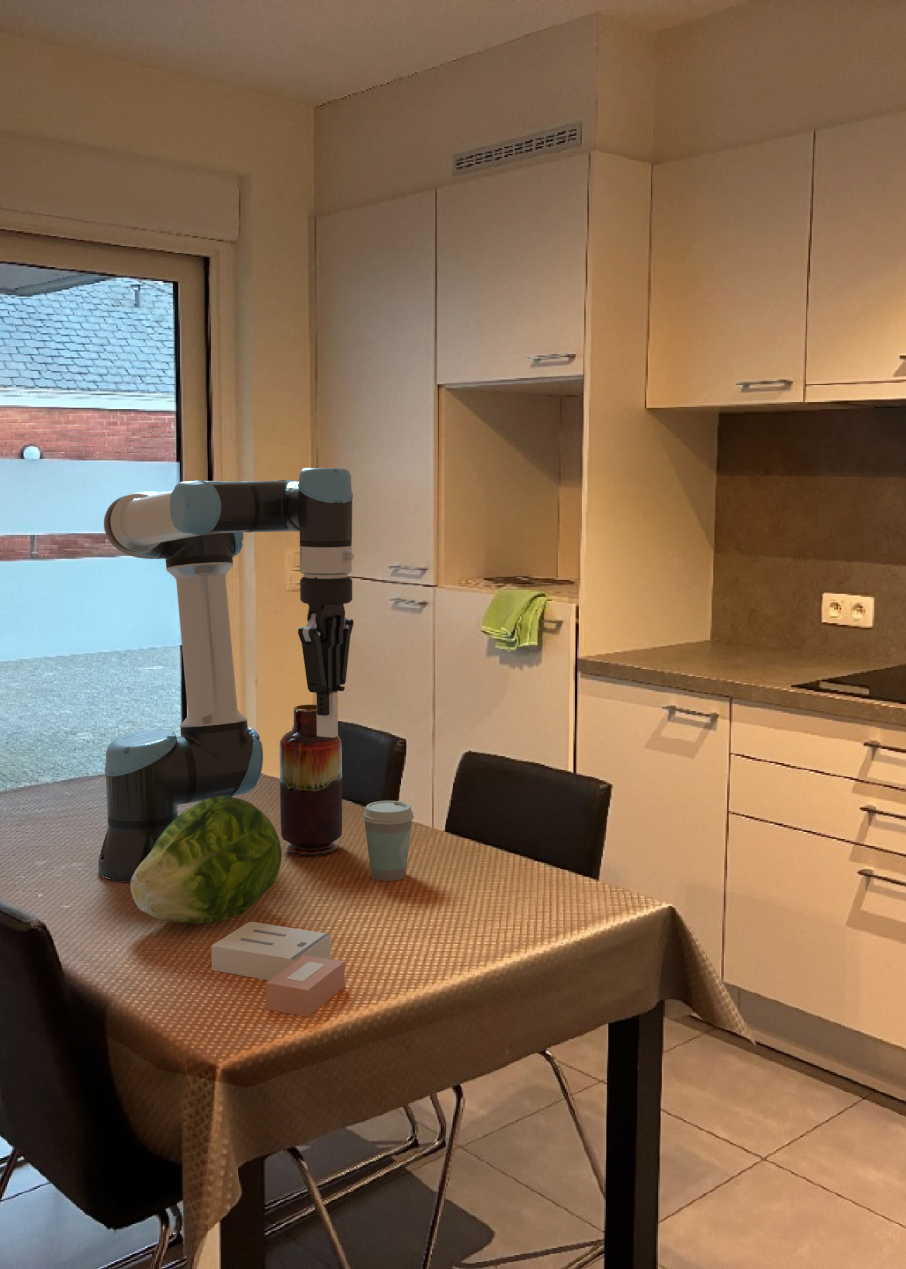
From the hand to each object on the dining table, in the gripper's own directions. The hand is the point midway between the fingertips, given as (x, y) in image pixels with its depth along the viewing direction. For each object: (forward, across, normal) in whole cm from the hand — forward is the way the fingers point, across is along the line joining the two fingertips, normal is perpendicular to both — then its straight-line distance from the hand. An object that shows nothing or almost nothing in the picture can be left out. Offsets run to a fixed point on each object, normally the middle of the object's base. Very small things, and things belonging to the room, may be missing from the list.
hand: (327, 735), depth 183 cm
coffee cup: (+29, +25, +2) cm, 39 cm away
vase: (+30, +33, +21) cm, 49 cm away
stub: (+29, -24, -9) cm, 39 cm away
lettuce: (+29, -4, +19) cm, 35 cm away
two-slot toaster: (+29, -16, 0) cm, 33 cm away
